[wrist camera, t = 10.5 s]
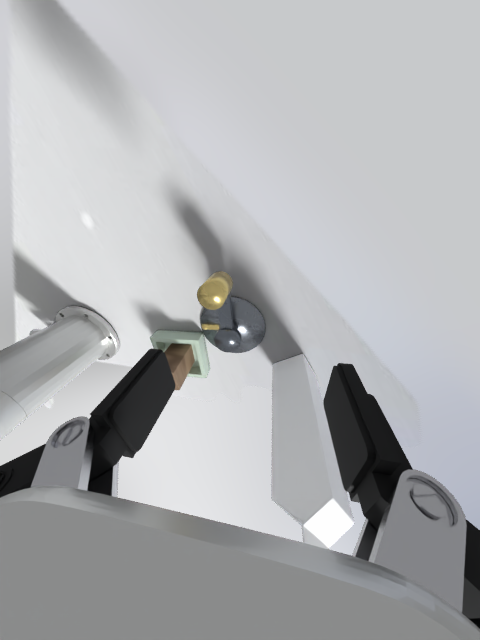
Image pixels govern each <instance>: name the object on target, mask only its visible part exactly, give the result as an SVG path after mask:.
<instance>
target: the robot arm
mask: <svg viewBox="0 0 480 640" xmlns="http://www.w3.org/2000/svg"><path fill="white" fill-rule="evenodd" d="M55 322H56V323H54V324H52V325H50V326H48V327H46V328H44V329H34V330H32V331H31V332H30V336H28V337H26V338H25V339H23V340H21V341H19V342H17V343H15V344H13V345H11V346H9V347H7V348H5V349H3V350H1V351H0V440H1V439H3V438H4V437H5V436H6V435H7V434H8V433H10V432H11V431H12V430H13V429H14V428H16V427H17V426H18V425H19V424H20V423H21V422H23V421H24V420H25V419H26V418H28V417H29V416H30V415H31V414H32V413H33V412H35V411H36V410H37V409H38V408H40V407H41V406H42V405H43V404H44V403H46V402H47V401H48V400H49V399H50V398H52V397H53V396H54V395H55V394H56V393H58V392H59V391H60V390H61V389H62V388H64V387H65V386H66V385H67V384H68V383H70V382H71V381H72V380H73V379H74V378H76V377H77V376H78V375H79V374H80V373H82V372H83V371H84V370H85V369H86V368H88V367H89V366H90V365H91V364H92V363H94V362H95V361H96V360H97V359H99V360H106V359H109V358H111V357H113V356H114V355H115V354H116V353H117V352H118V350H119V340H118V337H117V335H116V333H115V331H114V329H113V328H112V327H111V326H110V324H109V323H108V322H107V321H105V320H104V319H103V318H102V317H101V316H99V315H98V314H96V313H94V312H93V311H91V310H88V309H86V308H83V307H78V306H69V307H66V308H64V309H62V310H60V311H59V312H58V313H57V315H56V318H55ZM174 389H175V381H174V378H173V375H172V372H171V369H170V366H169V363H168V360H167V357H166V354H165V353H164V352H163V351H162V350H161V349H150V350H148V352H147V353H146V354H145V355H144V356H143V357H142V358H141V359H140V360H139V361H138V362H137V364H136V365H135V366H134V367H133V368H132V369H131V370H130V371H129V372H128V374H127V375H126V376H125V377H124V378H123V379H122V380H121V381H120V382H119V383H118V384H117V385H116V386H115V388H114V389H113V390H112V391H111V392H110V393H109V394H108V395H107V396H106V397H105V399H103V401H102V402H101V403H100V404H99V405H98V406H97V407H96V408H95V409H94V410H93V411H92V413H91V417H90V419H88V418H87V417H77V418H73V419H71V420H69V421H67V422H65V423H64V424H63V425H61V426H60V427H58V429H56V430H55V431H54V432H53V433H52V435H51V436H50V437H49V439H48V441H47V443H46V444H44V445H42V446H40V447H38V448H36V449H34V450H32V451H30V452H28V453H26V454H24V455H22V456H20V457H18V458H16V459H14V460H12V461H10V462H8V463H6V464H4V465H2V466H0V640H480V530H478V529H477V528H476V527H475V526H473V525H472V524H471V523H470V522H469V521H467V520H466V519H465V515H464V513H463V511H462V508H461V506H460V505H459V503H458V502H457V501H456V499H455V498H454V496H453V495H452V494H451V493H450V492H449V491H448V490H447V489H446V488H445V487H444V486H443V485H442V484H441V483H440V482H438V481H437V480H436V479H435V478H433V477H431V476H429V475H428V474H426V473H424V472H421V471H418V470H413V469H412V467H411V465H410V463H409V461H408V459H407V458H406V456H405V454H404V452H403V450H402V448H401V446H400V444H399V442H398V441H397V439H396V437H395V435H394V433H393V431H392V429H391V427H390V425H389V423H388V422H387V420H386V418H385V416H384V414H383V412H382V410H381V408H380V406H379V405H378V403H377V401H376V399H375V398H374V396H372V395H371V394H367V392H366V390H365V388H364V386H363V384H362V382H361V380H360V378H359V376H358V374H357V372H356V370H355V368H354V366H353V365H352V364H343V363H338V365H337V366H334V367H333V370H332V373H331V377H330V380H329V384H328V387H327V391H326V394H325V398H324V410H325V414H326V418H327V422H328V426H329V430H330V434H331V438H332V443H333V447H334V451H335V455H336V459H337V463H338V467H339V471H340V476H341V480H342V484H343V487H344V489H345V491H348V492H349V494H350V498H351V501H354V502H360V504H361V508H362V511H363V514H364V516H365V517H366V520H365V522H364V525H363V528H362V530H361V533H360V536H359V538H358V542H357V544H356V547H355V549H354V552H353V555H352V556H351V555H347V554H343V553H339V552H336V551H332V550H328V549H325V548H321V547H317V546H313V545H310V544H306V543H302V542H298V541H294V540H290V539H286V538H282V537H278V536H274V535H270V534H266V533H262V532H258V531H254V530H250V529H246V528H242V527H238V526H234V525H230V524H226V523H221V522H217V521H213V520H209V519H205V518H200V517H197V516H193V515H188V514H184V513H180V512H176V511H171V510H168V509H164V508H160V507H155V506H151V505H147V504H143V503H138V502H134V501H130V500H126V499H121V498H117V490H118V462H119V460H120V458H121V457H122V455H123V456H125V457H130V458H133V457H134V455H135V453H136V452H137V451H139V450H140V449H141V447H142V446H143V444H144V442H145V440H146V439H147V437H148V435H149V433H150V432H151V430H152V428H153V426H154V424H155V423H156V421H157V419H158V418H159V416H160V414H161V412H162V411H163V409H164V407H165V405H166V404H167V402H168V400H169V398H170V397H171V395H172V393H173V391H174Z"/></svg>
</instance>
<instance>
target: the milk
mask: <svg viewBox="0 0 480 640" xmlns="http://www.w3.org/2000/svg"><path fill="white" fill-rule="evenodd" d="M271 483H272V484H271V498H272V500H273V501H274V502H275V503H276V504H277V505H279V506H280V507H281V508H282V509H283V510H284V511H285V512H286V513H288V514H289V515H290V516H291V517H292V518H293V519H294V520H296V521H297V522H298V523H299V524H300V525H301V526H302V534H303V543H306V544H310V545H313V546H317V547H321V548H325V549H328V550H329V548H330V547H331V546H332V545H333V544H334V543H335V542H336V541H337V540H338V539H339V538H340V537H341V536H342V535H343V534H344V533H345V532H346V531H347V530H348V529H349V528H350V527H351V526H353V524H354V519H353V515H352V511H351V507H350V503H349V500H348V496H347V492H346V491H345V489H344V487H343V484H342V480H341V476H340V471H339V467H338V463H337V459H336V455H335V451H334V447H333V443H332V438H331V434H330V430H329V426H328V422H327V418H326V414H325V410H324V403H323V399H322V396H321V392H320V388H319V384H318V380H317V376H316V374H315V373H314V371H313V369H312V368H311V366H310V364H309V363H308V361H307V359H306V358H305V356H304V354H300V355H297V356H294V357H291V358H288V359H285V360H283V361H280V362H277V363H274V364H273V369H272V482H271Z"/></svg>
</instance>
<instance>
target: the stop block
mask: <svg viewBox="0 0 480 640" xmlns="http://www.w3.org/2000/svg"><path fill="white" fill-rule="evenodd" d="M164 353H165V354H166V357H167V360H168V363H169V366H170V369H171V372H172V375H173V378H174V381H175V389H174V390H180V388H181V386H182V384H183V382H184V380H185V379H186V377H187V375H188V373H189V371H190V369H191V367H192V365H193V364H194V362H195V359H194V354H193V350H192V345H190V344H175V343H171V344H170V346H169V347H168V348H167V350H166V351H165V352H164Z"/></svg>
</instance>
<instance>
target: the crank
mask: <svg viewBox="0 0 480 640" xmlns="http://www.w3.org/2000/svg"><path fill="white" fill-rule="evenodd" d="M232 287H233V281H232V279H231V277H230V276H229V275H228V274H227V273H225V272H221V271H219V272H215V273H214V274H213V275H212V276H211V277H210V278H209V279H208V280H207V281H206V282H205V283H204V284H203V285H202V286H201V287H200V288H199V289H198V292H197V298H198V301H199V302H200V304H201V305H202V306H203V307H205V308H207V309H210V310H216V309H218V315H219V323H220V328H219V329H218V331H217V333H216V335H215V337H214V343H215V345H216V346H217V348H219V349H220V350H222V351H224V352H234V351H236V350H237V349H238V348H239V346H240V343H241V338H242V337H241V333H240V332H239V331H238V330H237V329H236V328H234V325H233V313H232V301H231V289H232Z"/></svg>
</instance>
